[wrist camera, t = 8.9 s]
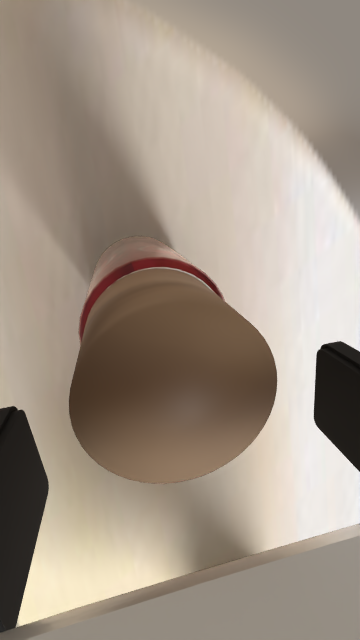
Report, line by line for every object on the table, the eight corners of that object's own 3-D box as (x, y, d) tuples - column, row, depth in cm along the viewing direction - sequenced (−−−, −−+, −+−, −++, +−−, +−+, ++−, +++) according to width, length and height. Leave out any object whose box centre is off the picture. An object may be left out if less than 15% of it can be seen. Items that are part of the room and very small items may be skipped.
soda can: (113, 334, 26) (113, 425, 15) (78, 252, 24) (47, 293, 13) (193, 305, 27) (247, 374, 16) (167, 222, 24) (212, 235, 13)
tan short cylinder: (192, 412, 16) (224, 495, 12) (64, 381, 14) (40, 465, 9) (249, 298, 15) (312, 341, 10) (113, 244, 12) (114, 265, 8)
